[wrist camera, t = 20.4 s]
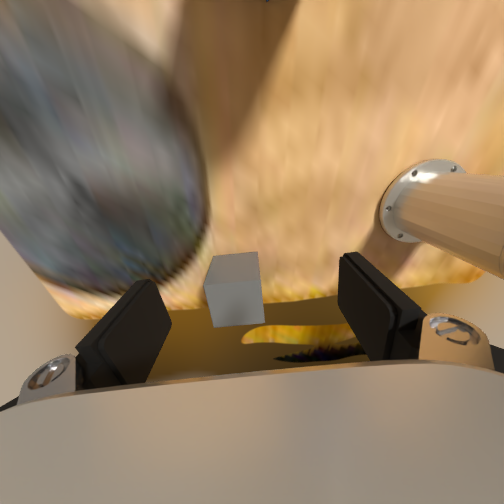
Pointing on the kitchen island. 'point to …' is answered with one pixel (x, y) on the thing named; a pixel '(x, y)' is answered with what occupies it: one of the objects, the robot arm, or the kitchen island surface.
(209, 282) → the gray cube
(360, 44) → the kitchen island surface
